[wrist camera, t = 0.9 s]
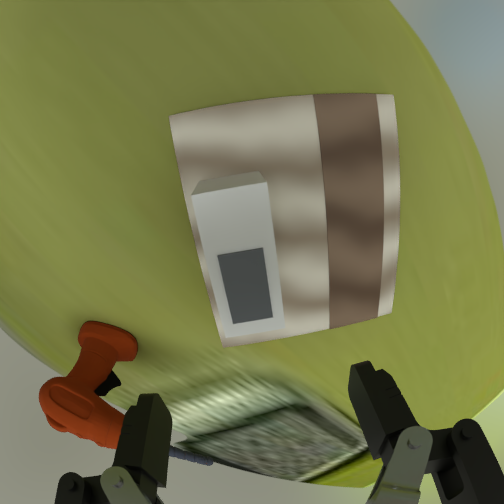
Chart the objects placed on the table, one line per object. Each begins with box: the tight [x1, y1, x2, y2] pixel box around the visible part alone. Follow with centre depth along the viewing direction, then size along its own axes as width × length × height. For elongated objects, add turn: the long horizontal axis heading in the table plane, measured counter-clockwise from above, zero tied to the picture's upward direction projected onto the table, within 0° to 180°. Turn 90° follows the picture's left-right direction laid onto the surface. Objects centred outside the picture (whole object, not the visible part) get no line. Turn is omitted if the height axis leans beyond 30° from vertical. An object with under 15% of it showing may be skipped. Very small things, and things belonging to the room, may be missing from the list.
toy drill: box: [39, 321, 213, 466], centre depth 25 cm, size 5×19×15 cm, turn 71°
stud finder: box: [191, 171, 285, 338], centre depth 23 cm, size 12×5×6 cm, turn 9°
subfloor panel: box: [169, 93, 400, 348], centre depth 26 cm, size 24×20×1 cm
